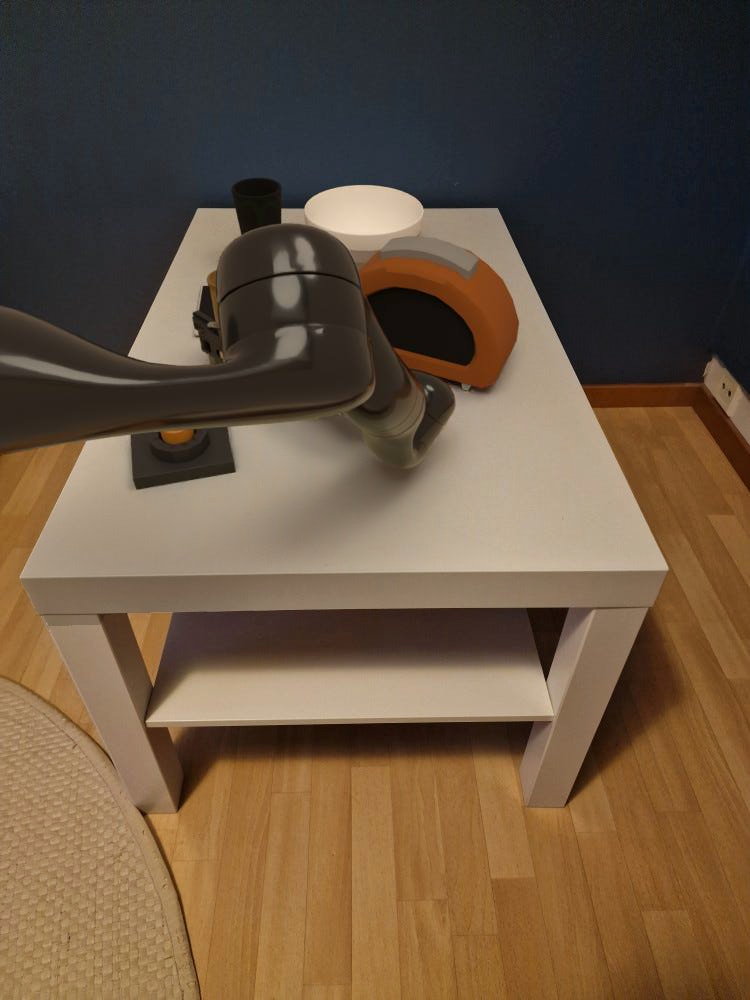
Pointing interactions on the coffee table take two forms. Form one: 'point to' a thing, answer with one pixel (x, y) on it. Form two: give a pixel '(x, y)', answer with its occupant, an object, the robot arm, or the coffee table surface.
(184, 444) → the push button panel
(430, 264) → the alarm clock
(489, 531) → the coffee table surface
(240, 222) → the cup
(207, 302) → the smartphone
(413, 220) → the bowl
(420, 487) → the coffee table surface
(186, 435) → the button
